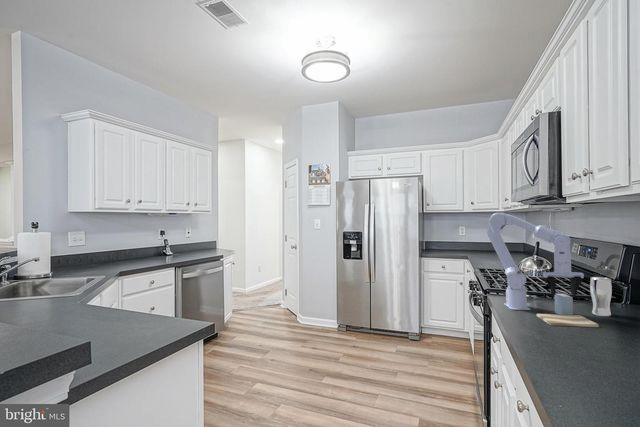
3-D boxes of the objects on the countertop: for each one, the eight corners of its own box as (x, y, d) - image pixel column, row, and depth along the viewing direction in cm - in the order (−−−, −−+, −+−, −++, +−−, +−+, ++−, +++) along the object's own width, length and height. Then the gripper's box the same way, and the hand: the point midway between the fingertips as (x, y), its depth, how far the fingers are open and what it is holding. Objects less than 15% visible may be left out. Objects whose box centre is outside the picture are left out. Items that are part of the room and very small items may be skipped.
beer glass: (589, 311, 144) (588, 276, 144) (610, 313, 141) (609, 277, 141) (592, 315, 138) (591, 279, 138) (614, 317, 135) (613, 280, 135)
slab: (555, 312, 144) (554, 293, 144) (565, 312, 143) (564, 293, 143) (562, 316, 138) (561, 296, 138) (573, 316, 137) (572, 297, 137)
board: (536, 316, 139) (536, 313, 139) (580, 317, 136) (579, 315, 136) (550, 325, 127) (550, 322, 127) (598, 327, 124) (598, 324, 124)
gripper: (547, 263, 138) (548, 296, 138) (587, 263, 135) (588, 297, 135) (540, 261, 145) (541, 292, 145) (577, 261, 142) (578, 293, 142)
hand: (563, 294), depth 140 cm, fingers open, 7 cm apart
